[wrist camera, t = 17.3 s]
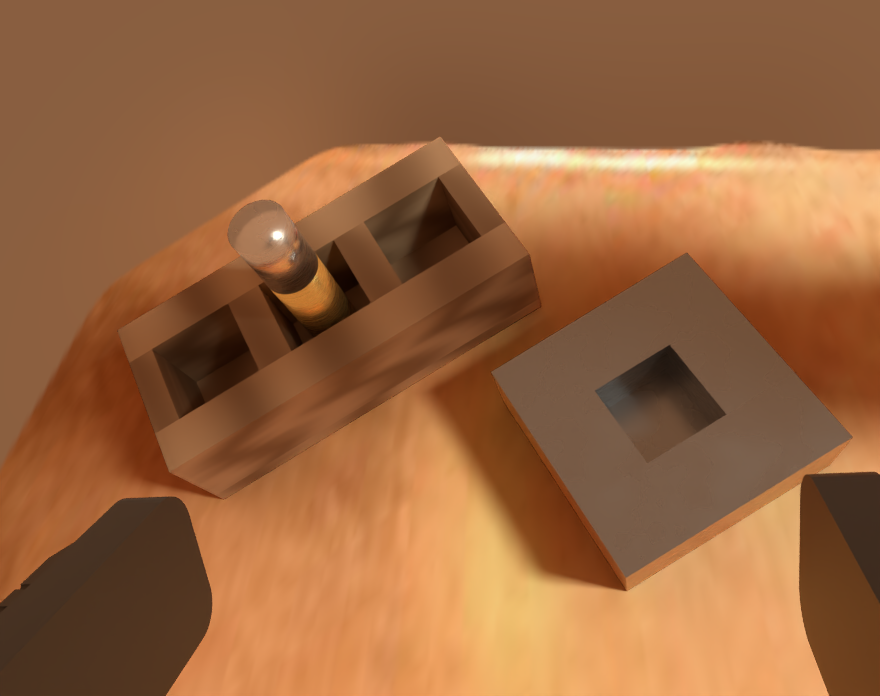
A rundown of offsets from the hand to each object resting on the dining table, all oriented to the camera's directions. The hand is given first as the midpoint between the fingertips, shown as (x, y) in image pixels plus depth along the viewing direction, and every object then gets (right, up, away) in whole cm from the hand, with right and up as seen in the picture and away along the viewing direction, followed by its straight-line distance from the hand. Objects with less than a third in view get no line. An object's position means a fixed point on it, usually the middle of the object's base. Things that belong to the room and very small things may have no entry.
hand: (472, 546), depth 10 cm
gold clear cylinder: (-6, +3, +37) cm, 37 cm away
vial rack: (-6, +3, +38) cm, 38 cm away
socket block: (+11, -2, +31) cm, 33 cm away
